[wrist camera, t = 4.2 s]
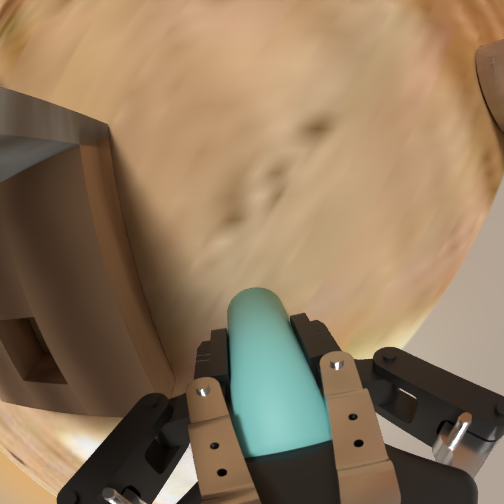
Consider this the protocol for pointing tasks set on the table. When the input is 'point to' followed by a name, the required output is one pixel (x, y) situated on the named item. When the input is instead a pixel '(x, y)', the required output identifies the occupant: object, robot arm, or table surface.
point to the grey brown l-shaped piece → (69, 270)
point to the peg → (270, 379)
